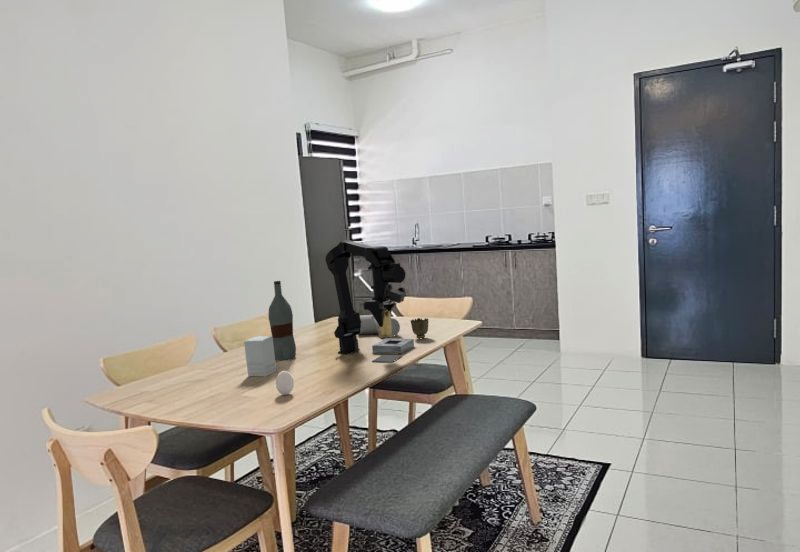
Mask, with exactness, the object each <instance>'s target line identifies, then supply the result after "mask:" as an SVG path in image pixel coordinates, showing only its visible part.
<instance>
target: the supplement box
mask: <svg viewBox="0 0 800 552" xmlns="http://www.w3.org/2000/svg"><path fill="white" fill-rule="evenodd" d="M243 345H244V352H245V360H246V368H247V376H248V377H267V376H269V375H271V374H273V373H275V372H277V365H276V361H275V354H274V345H273V337H272V335H267V336H266V335H265V336H259V335H258V336H256V335H255V336H253V337H251V338H248V339H246V340H244V341H243Z"/></svg>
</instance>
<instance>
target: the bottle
mask: <svg viewBox="0 0 800 552" xmlns="http://www.w3.org/2000/svg"><path fill="white" fill-rule="evenodd" d="M273 287H274V289H273V290H274V297H273V299H272V301H271V303H270V305H269V307H268V322H269V326H270V332H271V336H272V337H273V345H274V354H275V362H287V361H291V360H294V359H295V358H296V356H297V346H296V341H295V338H294V327H293V326H294V320H293V318H294V316H293V315H294V314H293V310H292V307H291V305H290V303H289V302H288V301H287V299H286V298H285V296H284V295H283V293H282V291H283V290H282V283H281V280H274V281H273Z"/></svg>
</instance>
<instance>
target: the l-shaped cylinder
mask: <svg viewBox="0 0 800 552" xmlns="http://www.w3.org/2000/svg"><path fill="white" fill-rule="evenodd" d="M360 320H361V322H362V323H361V328H360V334H359V335H372V334H373V335H375V334H374V333H377V334H379V332H378V323H377V321H376V319H375V318H374V316H373V315H372V314H366V315H365V314H363V315H361V314H360ZM391 327H392V336H394V335H396V336H397V335H398V334H399V332H400V331H401V330H400V329H401V325H400V323H399V321H398V320H397V319H396V318H393V317H391Z"/></svg>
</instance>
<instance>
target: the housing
mask: <svg viewBox="0 0 800 552" xmlns="http://www.w3.org/2000/svg"><path fill="white" fill-rule="evenodd" d="M371 346H372V347H371V348H372V354H382V353H402V354H404V353H406V352H407V351H409V350H411V349H412V347H413V346H414V347H415V341H414V338H391V337H390V338H388V337H387V338H383V339H382V340H380V341H378V342H377V343H373V344H372V345H371ZM414 347H413V348H414ZM410 348H411V349H410ZM408 349H409V350H408ZM406 350H407V351H406ZM405 351H406V352H405ZM403 352H404V353H403Z"/></svg>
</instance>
